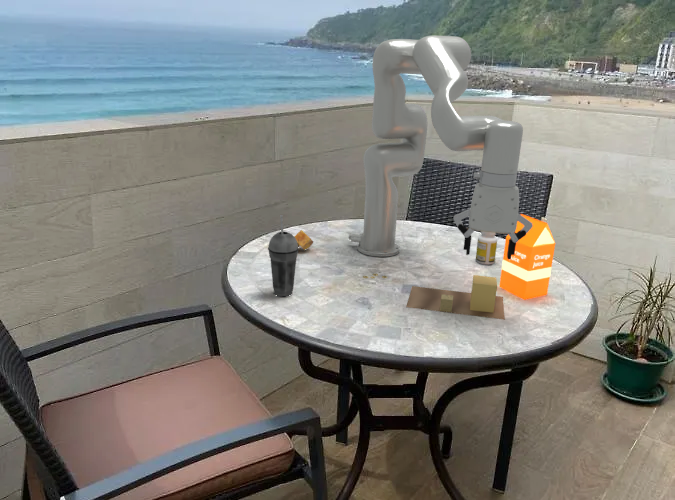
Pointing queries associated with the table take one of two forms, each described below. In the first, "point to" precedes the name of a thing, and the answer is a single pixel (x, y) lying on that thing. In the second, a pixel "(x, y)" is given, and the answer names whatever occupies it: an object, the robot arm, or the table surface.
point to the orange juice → (529, 262)
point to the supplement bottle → (486, 248)
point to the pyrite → (303, 240)
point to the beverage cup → (283, 261)
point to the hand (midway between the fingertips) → (488, 255)
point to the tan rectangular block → (483, 293)
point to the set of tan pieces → (374, 275)
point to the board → (460, 305)
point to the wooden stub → (446, 303)
